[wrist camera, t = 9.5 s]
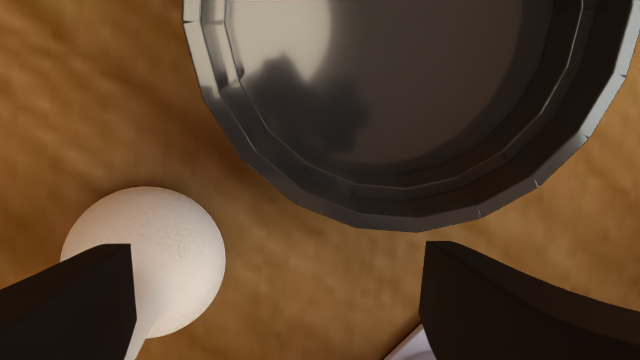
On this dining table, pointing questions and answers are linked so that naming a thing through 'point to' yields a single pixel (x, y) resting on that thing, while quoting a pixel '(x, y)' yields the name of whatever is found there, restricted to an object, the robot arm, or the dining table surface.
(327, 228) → the dining table surface
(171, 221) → the garlic bulb
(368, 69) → the pan
